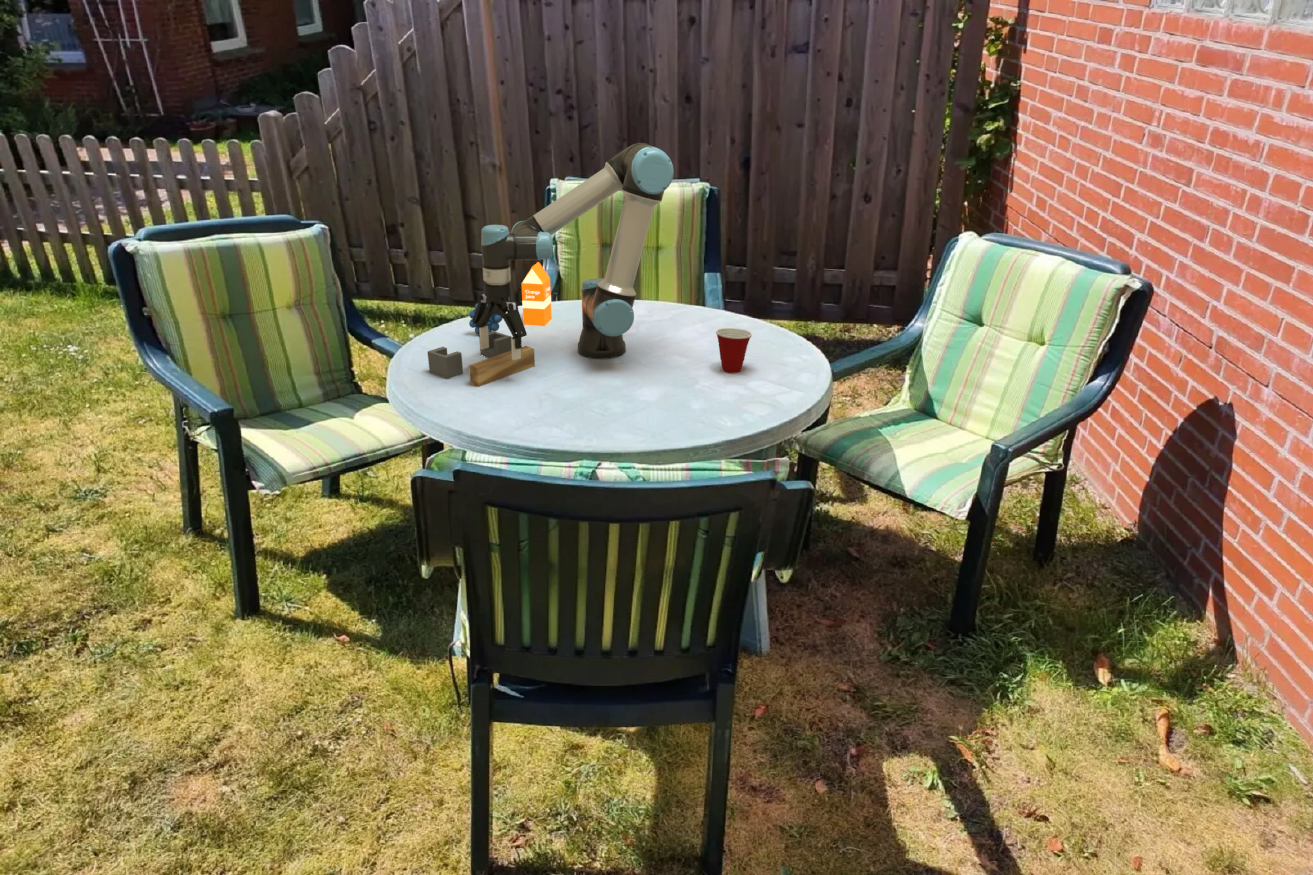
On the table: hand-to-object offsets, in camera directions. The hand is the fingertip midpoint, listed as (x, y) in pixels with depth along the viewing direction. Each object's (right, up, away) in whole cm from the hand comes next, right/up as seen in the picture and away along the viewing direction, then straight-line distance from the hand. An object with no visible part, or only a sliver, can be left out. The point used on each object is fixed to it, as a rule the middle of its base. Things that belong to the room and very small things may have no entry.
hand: (500, 353), depth 261 cm
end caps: (-10, -2, +11) cm, 15 cm away
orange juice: (+4, +16, +51) cm, 53 cm away
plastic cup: (+68, -4, +8) cm, 69 cm away
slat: (0, -6, +3) cm, 7 cm away
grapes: (-11, +10, +37) cm, 39 cm away
